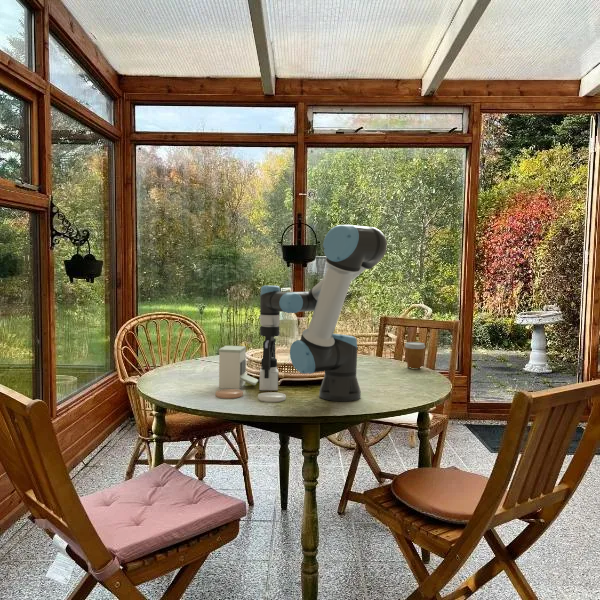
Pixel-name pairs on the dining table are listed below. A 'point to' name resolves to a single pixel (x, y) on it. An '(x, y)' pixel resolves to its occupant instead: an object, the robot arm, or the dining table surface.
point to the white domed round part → (271, 397)
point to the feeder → (233, 367)
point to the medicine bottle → (273, 375)
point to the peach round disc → (229, 393)
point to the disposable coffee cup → (414, 354)
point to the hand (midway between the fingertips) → (268, 383)
